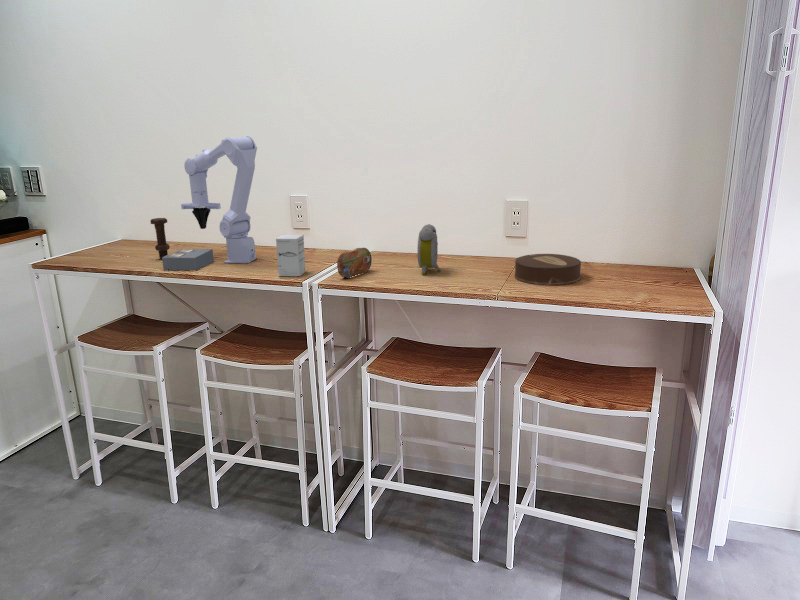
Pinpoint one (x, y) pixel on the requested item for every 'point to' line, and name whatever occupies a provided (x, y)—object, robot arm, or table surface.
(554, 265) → the container
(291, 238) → the supplement box
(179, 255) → the tan cube
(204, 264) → the socket block
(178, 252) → the tan wooden cube
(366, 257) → the tin
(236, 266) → the table surface
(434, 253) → the grey upright figure
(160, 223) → the bolt
